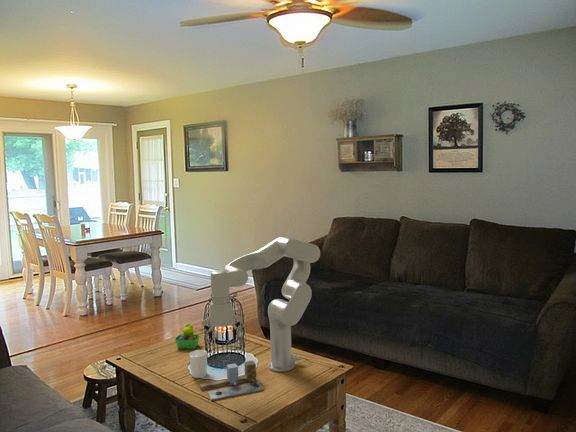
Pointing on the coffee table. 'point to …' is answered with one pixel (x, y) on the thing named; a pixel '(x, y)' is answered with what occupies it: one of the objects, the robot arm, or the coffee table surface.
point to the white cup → (198, 363)
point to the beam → (249, 376)
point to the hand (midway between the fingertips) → (223, 338)
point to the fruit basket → (187, 338)
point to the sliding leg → (232, 374)
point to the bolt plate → (235, 391)
